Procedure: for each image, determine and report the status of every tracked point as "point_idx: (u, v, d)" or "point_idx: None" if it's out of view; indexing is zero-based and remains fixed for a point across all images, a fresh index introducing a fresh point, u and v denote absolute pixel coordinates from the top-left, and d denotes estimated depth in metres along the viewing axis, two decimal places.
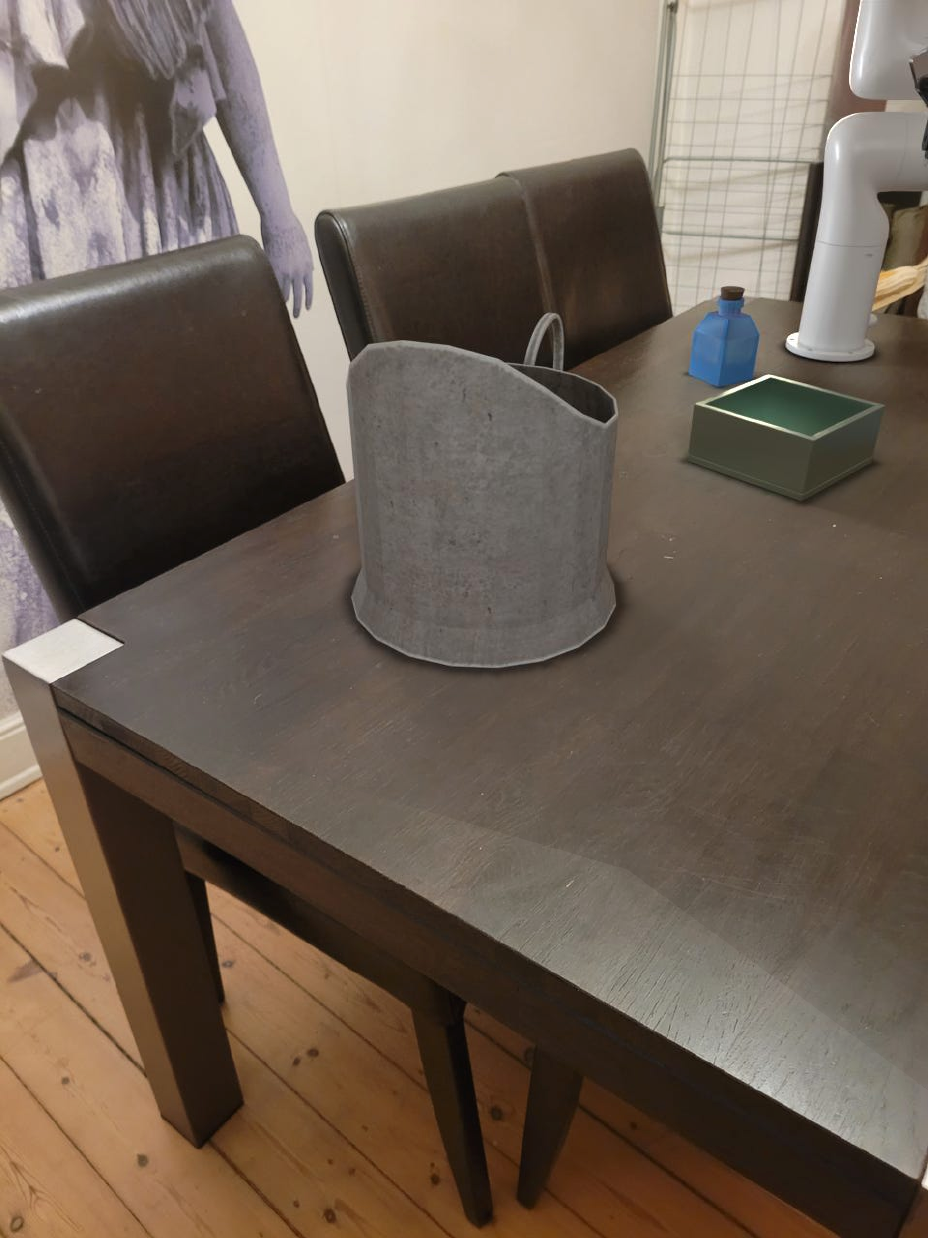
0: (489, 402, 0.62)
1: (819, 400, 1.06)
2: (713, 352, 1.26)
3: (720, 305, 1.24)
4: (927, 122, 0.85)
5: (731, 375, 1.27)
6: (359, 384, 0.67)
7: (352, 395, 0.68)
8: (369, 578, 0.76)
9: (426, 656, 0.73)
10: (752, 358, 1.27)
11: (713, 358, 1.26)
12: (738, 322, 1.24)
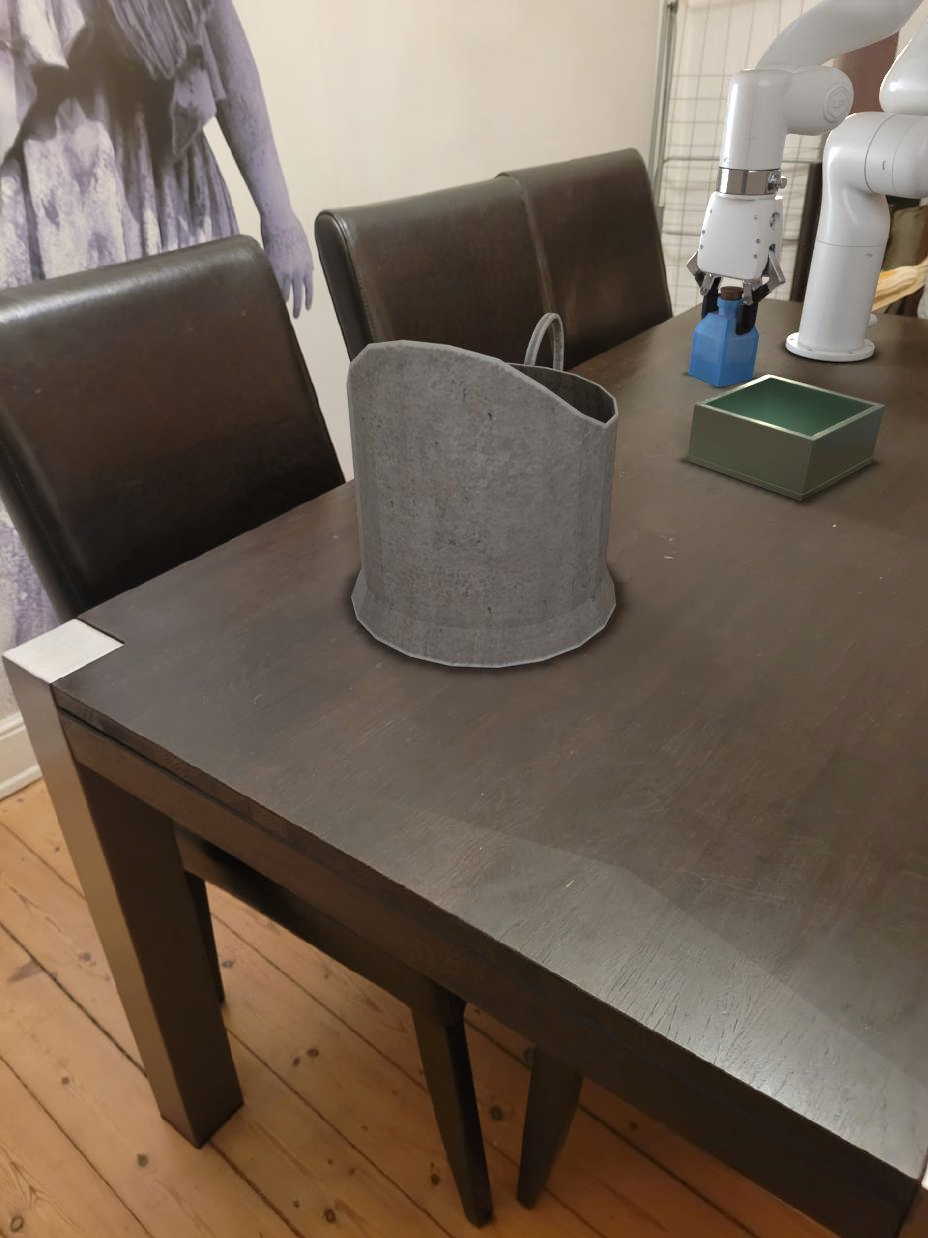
0: (489, 402, 0.62)
1: (819, 400, 1.06)
2: (713, 352, 1.26)
3: (720, 305, 1.24)
4: None
5: (731, 375, 1.27)
6: (359, 384, 0.67)
7: (352, 395, 0.68)
8: (369, 578, 0.76)
9: (426, 656, 0.73)
10: (752, 358, 1.27)
11: (713, 358, 1.26)
12: None
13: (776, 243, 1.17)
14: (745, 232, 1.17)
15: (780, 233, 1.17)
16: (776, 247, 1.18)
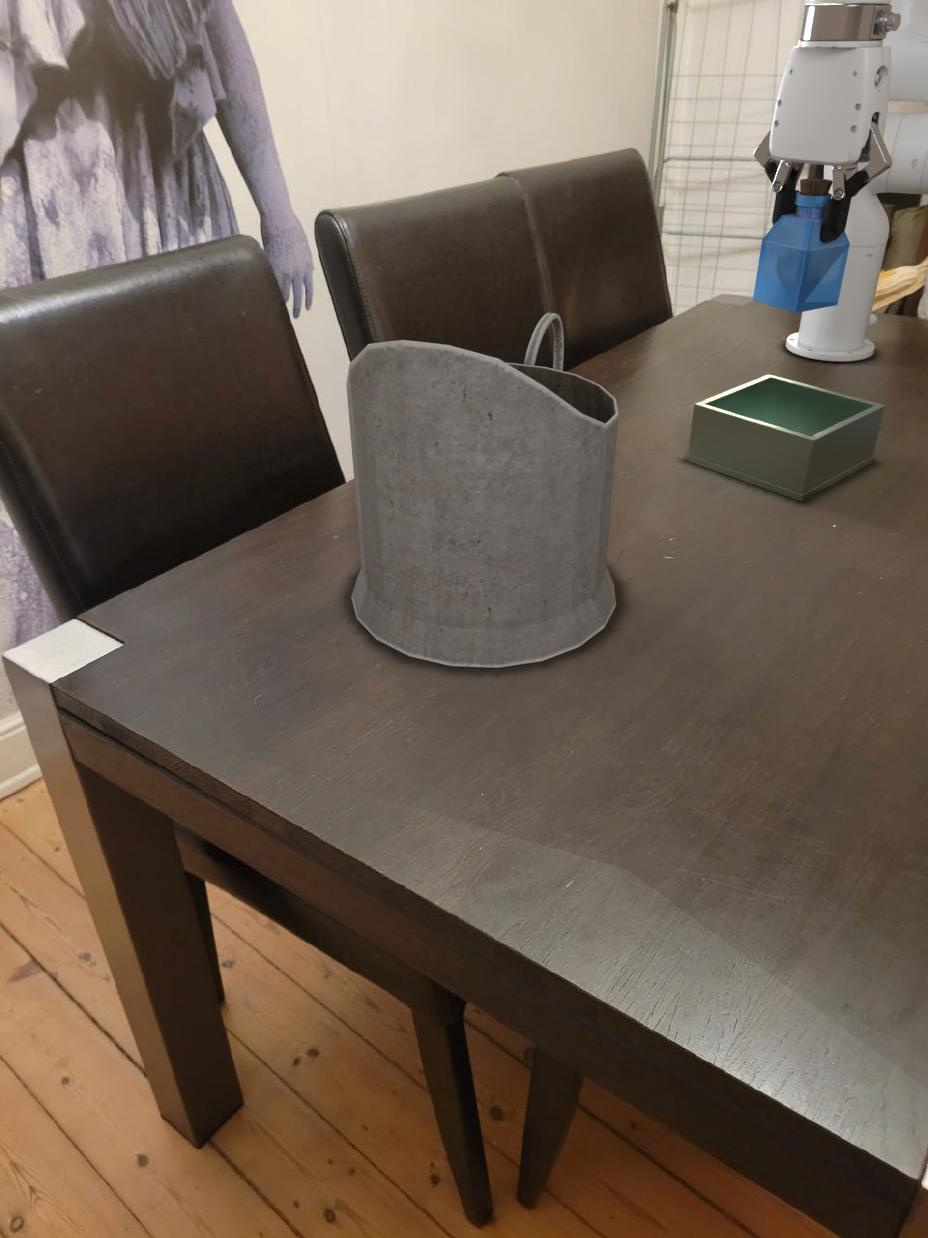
0: (489, 402, 0.62)
1: (819, 400, 1.06)
2: (789, 266, 0.95)
3: (799, 203, 0.94)
4: None
5: (812, 298, 0.96)
6: (359, 384, 0.67)
7: (352, 395, 0.68)
8: (369, 578, 0.76)
9: (426, 656, 0.73)
10: (839, 275, 0.97)
11: (790, 275, 0.95)
12: None
13: (881, 111, 0.87)
14: (840, 95, 0.86)
15: (886, 98, 0.87)
16: (880, 117, 0.87)
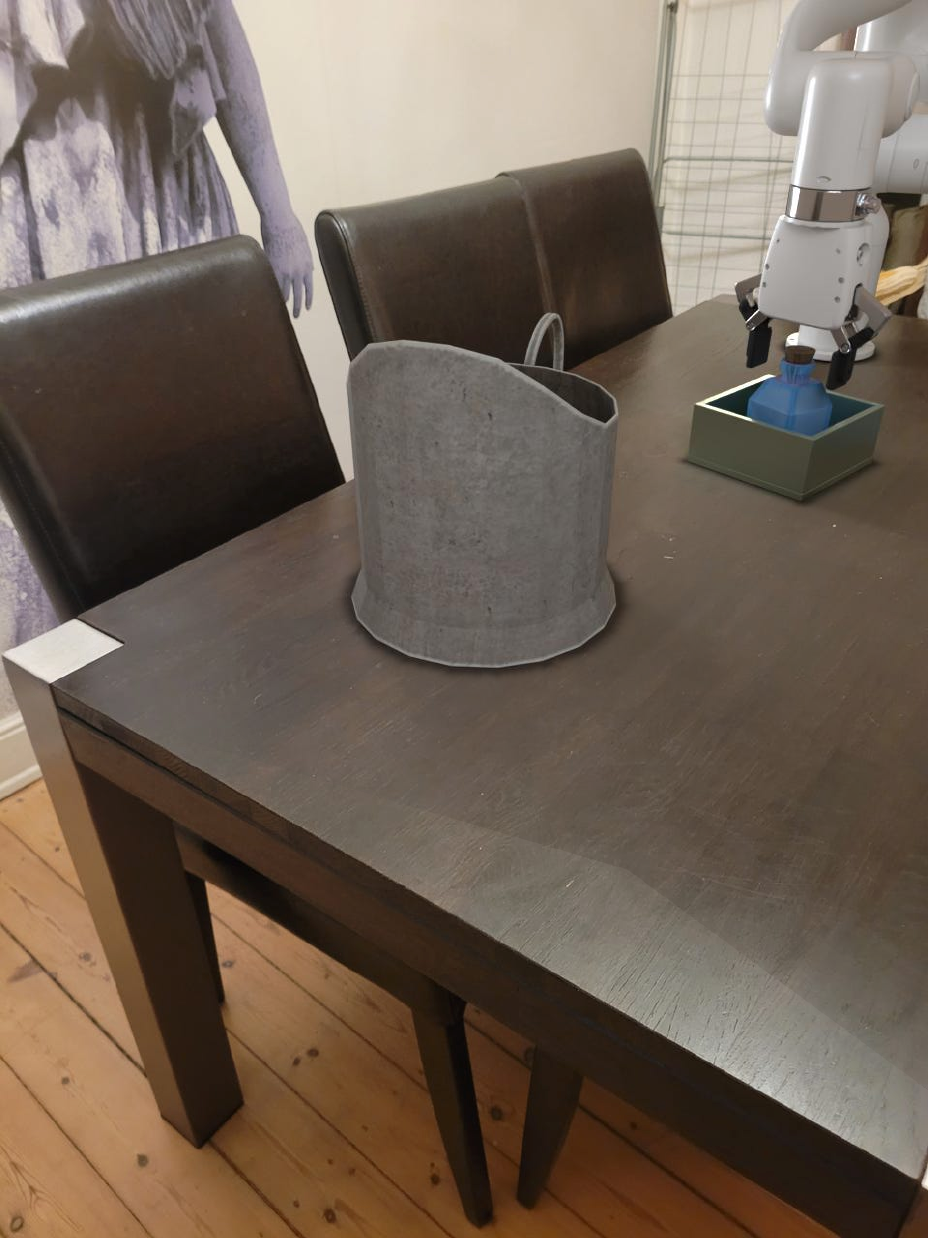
0: (489, 402, 0.62)
1: None
2: None
3: (784, 370, 0.99)
4: None
5: None
6: (359, 384, 0.67)
7: (352, 395, 0.68)
8: (369, 578, 0.76)
9: (426, 656, 0.73)
10: None
11: None
12: (808, 391, 0.99)
13: (863, 282, 0.91)
14: (824, 269, 0.91)
15: (868, 269, 0.91)
16: (863, 287, 0.92)
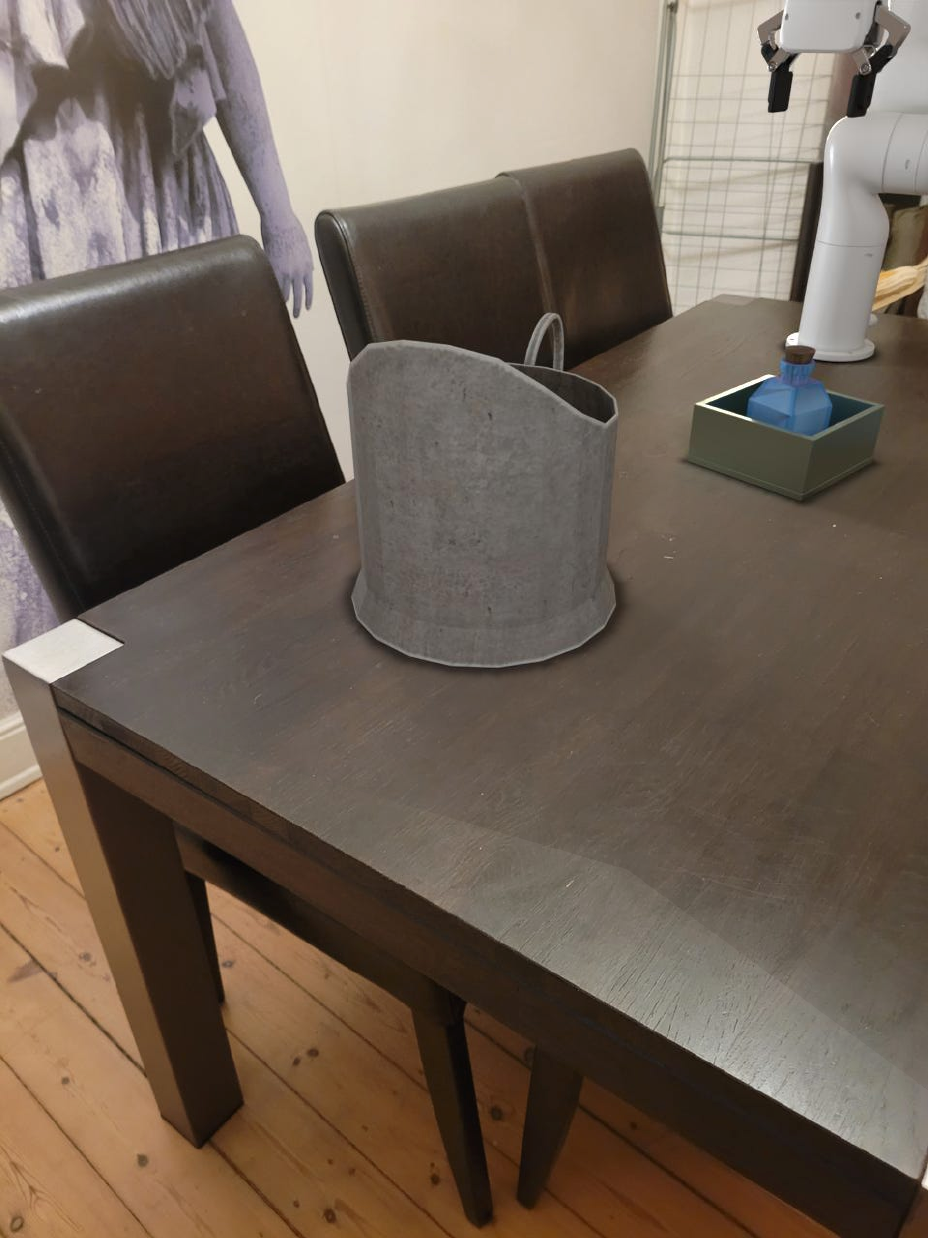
0: (489, 402, 0.62)
1: None
2: None
3: (784, 370, 0.99)
4: None
5: None
6: (359, 384, 0.67)
7: (352, 395, 0.68)
8: (369, 578, 0.76)
9: (426, 656, 0.73)
10: None
11: None
12: (808, 391, 0.99)
13: (883, 0, 0.95)
14: None
15: None
16: (883, 6, 0.95)
